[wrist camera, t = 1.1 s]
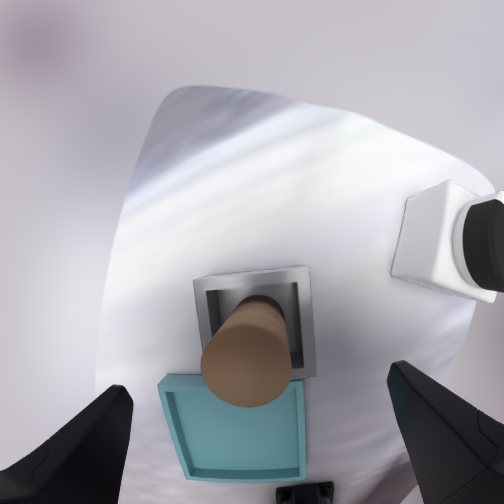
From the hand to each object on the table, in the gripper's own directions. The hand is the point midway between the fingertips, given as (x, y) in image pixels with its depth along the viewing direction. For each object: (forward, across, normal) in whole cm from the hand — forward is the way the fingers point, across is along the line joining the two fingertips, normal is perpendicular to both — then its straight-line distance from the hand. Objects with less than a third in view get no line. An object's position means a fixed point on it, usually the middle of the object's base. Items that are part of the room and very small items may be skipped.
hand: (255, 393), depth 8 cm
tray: (+9, +3, +16) cm, 19 cm away
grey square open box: (+13, 0, +6) cm, 14 cm away
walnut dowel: (+12, 0, +6) cm, 13 cm away
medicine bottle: (+14, -16, +2) cm, 21 cm away
